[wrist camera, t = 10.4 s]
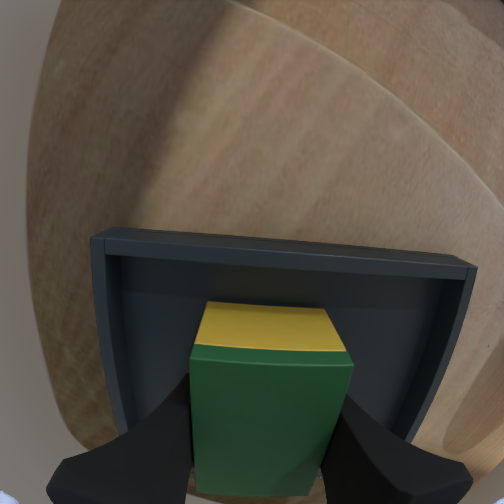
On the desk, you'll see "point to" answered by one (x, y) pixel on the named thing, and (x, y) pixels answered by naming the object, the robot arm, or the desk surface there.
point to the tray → (284, 295)
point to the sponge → (264, 398)
